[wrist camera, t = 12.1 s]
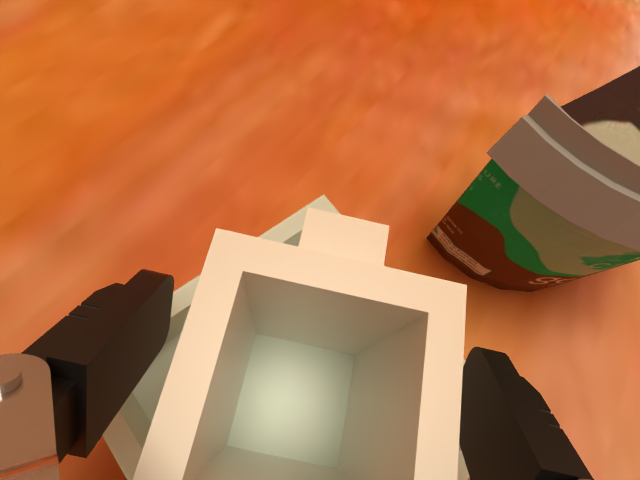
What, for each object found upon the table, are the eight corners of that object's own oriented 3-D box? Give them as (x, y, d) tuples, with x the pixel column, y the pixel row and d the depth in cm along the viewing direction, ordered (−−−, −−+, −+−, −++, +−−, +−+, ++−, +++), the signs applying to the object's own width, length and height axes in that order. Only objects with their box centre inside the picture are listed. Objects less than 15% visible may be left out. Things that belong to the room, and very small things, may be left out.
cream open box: (197, 466, 14) (112, 538, 6) (249, 281, 16) (231, 181, 9) (355, 499, 14) (450, 606, 7) (381, 310, 17) (469, 236, 9)
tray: (102, 372, 15) (61, 364, 12) (315, 227, 19) (323, 194, 16) (260, 640, 13) (257, 711, 10) (473, 419, 16) (518, 422, 13)
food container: (482, 371, 17) (735, 331, 8) (401, 251, 19) (529, 102, 9) (660, 244, 20) (979, 113, 11) (578, 153, 22) (797, -25, 13)
